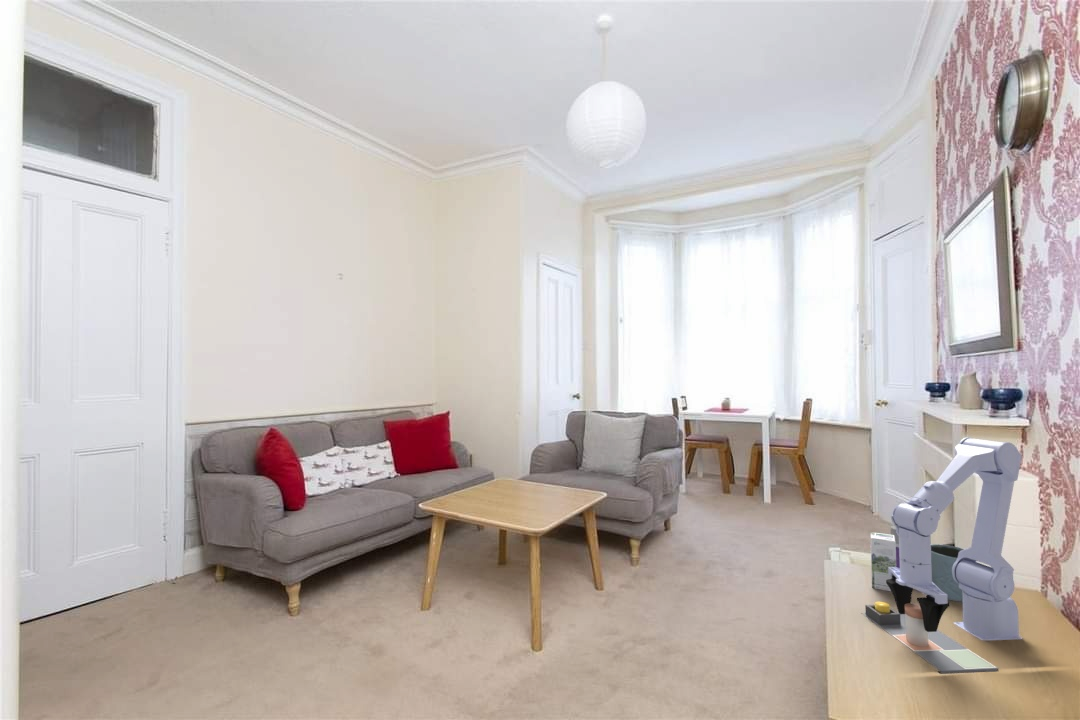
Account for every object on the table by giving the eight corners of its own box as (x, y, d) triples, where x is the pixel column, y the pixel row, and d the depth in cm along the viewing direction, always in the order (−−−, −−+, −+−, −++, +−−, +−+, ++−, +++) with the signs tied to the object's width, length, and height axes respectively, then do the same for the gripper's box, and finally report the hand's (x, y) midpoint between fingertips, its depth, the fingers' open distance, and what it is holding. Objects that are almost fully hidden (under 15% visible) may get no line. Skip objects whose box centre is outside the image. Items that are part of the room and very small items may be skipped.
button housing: (885, 614, 126) (885, 604, 126) (900, 624, 121) (900, 614, 121) (865, 614, 126) (865, 605, 126) (879, 625, 121) (879, 614, 121)
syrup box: (896, 586, 142) (894, 534, 142) (897, 594, 137) (895, 540, 137) (871, 582, 145) (870, 530, 145) (871, 590, 140) (870, 537, 140)
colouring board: (908, 613, 127) (908, 610, 127) (998, 671, 103) (998, 667, 103) (861, 615, 127) (860, 612, 127) (940, 673, 103) (940, 670, 103)
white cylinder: (918, 636, 115) (917, 602, 115) (934, 646, 111) (933, 611, 111) (900, 637, 115) (899, 603, 115) (915, 647, 111) (914, 612, 111)
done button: (884, 612, 125) (884, 601, 125) (893, 618, 122) (893, 607, 122) (872, 612, 125) (872, 601, 125) (881, 618, 122) (880, 607, 122)
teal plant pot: (925, 585, 143) (923, 541, 143) (971, 592, 137) (970, 547, 138) (930, 599, 134) (929, 553, 134) (980, 608, 129) (979, 560, 129)
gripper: (874, 548, 120) (876, 607, 120) (923, 574, 106) (925, 640, 106) (904, 547, 120) (905, 605, 120) (956, 572, 106) (958, 638, 106)
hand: (917, 621), depth 113 cm, fingers open, 7 cm apart
